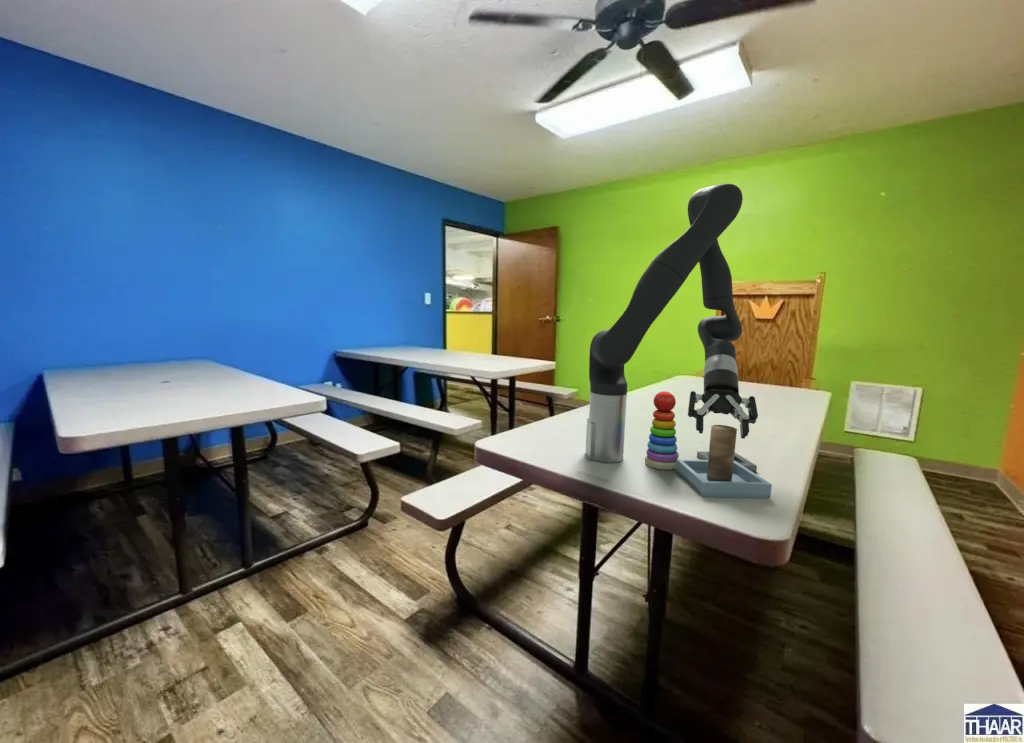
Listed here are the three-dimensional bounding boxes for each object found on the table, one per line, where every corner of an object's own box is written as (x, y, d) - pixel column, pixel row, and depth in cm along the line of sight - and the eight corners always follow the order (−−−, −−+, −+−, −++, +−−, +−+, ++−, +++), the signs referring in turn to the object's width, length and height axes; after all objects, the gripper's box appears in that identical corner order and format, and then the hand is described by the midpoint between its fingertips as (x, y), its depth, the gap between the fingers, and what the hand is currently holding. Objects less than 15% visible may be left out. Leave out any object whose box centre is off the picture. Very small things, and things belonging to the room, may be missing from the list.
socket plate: (715, 470, 99) (715, 464, 99) (696, 456, 109) (697, 451, 109) (756, 471, 99) (756, 465, 99) (734, 457, 109) (734, 452, 109)
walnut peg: (713, 484, 88) (718, 430, 87) (702, 475, 93) (707, 424, 92) (736, 484, 88) (741, 431, 87) (724, 476, 93) (729, 425, 92)
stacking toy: (651, 457, 107) (656, 387, 105) (682, 465, 102) (688, 391, 100) (639, 465, 101) (644, 391, 99) (672, 473, 96) (678, 395, 94)
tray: (702, 496, 84) (703, 482, 84) (675, 471, 98) (676, 459, 97) (770, 498, 84) (771, 484, 84) (733, 472, 98) (734, 460, 97)
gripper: (690, 365, 100) (689, 421, 91) (757, 369, 95) (762, 429, 86) (687, 383, 106) (686, 438, 96) (750, 388, 101) (754, 446, 92)
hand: (722, 434), depth 91 cm, fingers open, 8 cm apart
